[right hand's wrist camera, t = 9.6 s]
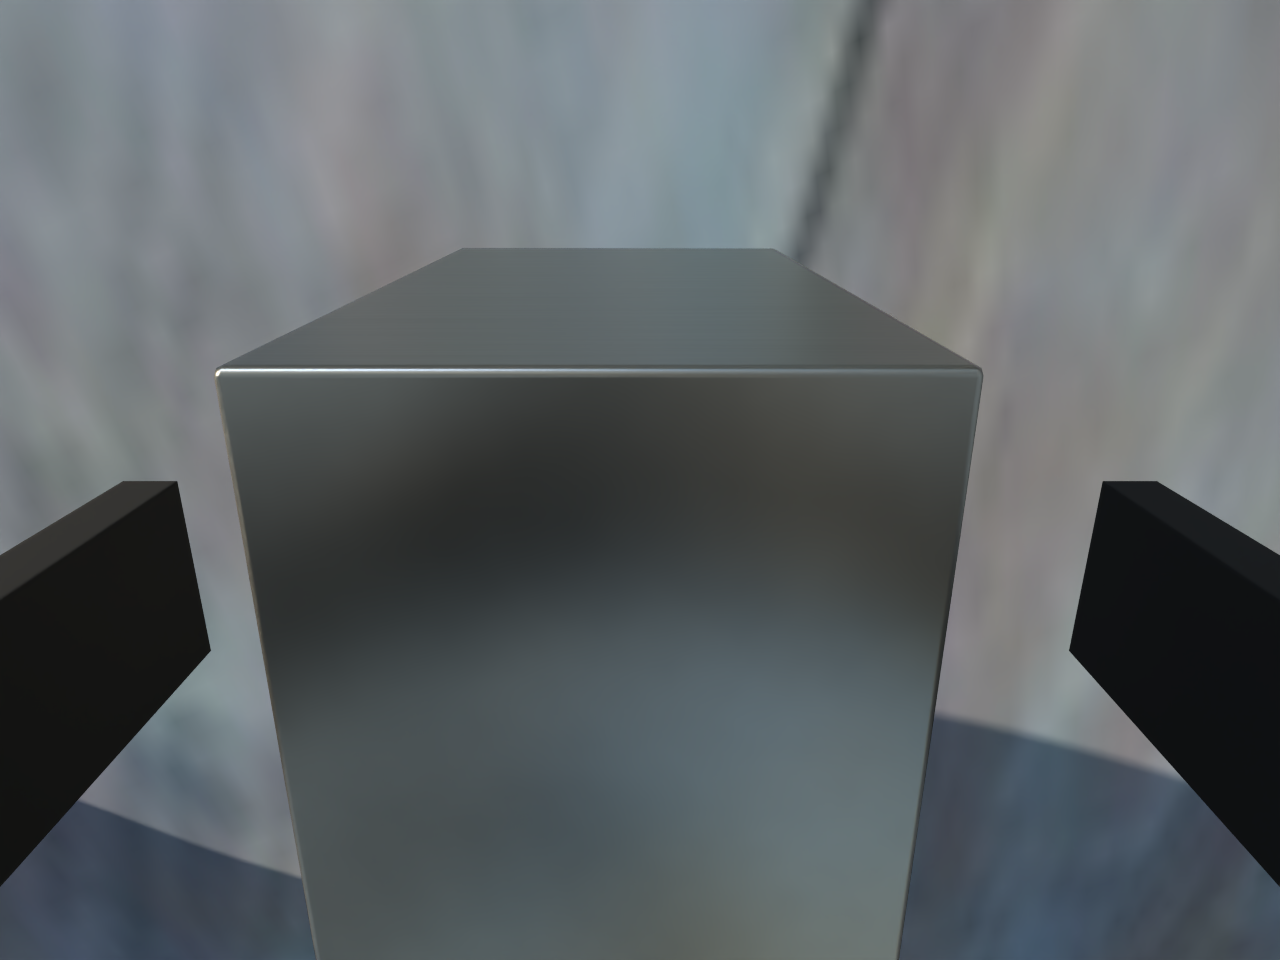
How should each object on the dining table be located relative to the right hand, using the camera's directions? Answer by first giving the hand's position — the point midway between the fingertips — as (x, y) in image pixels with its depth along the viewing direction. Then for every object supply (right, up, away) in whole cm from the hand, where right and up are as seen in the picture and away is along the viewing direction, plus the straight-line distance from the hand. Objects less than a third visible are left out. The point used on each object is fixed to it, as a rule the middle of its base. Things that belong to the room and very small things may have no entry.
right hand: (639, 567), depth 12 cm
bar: (0, -12, +7) cm, 14 cm away
